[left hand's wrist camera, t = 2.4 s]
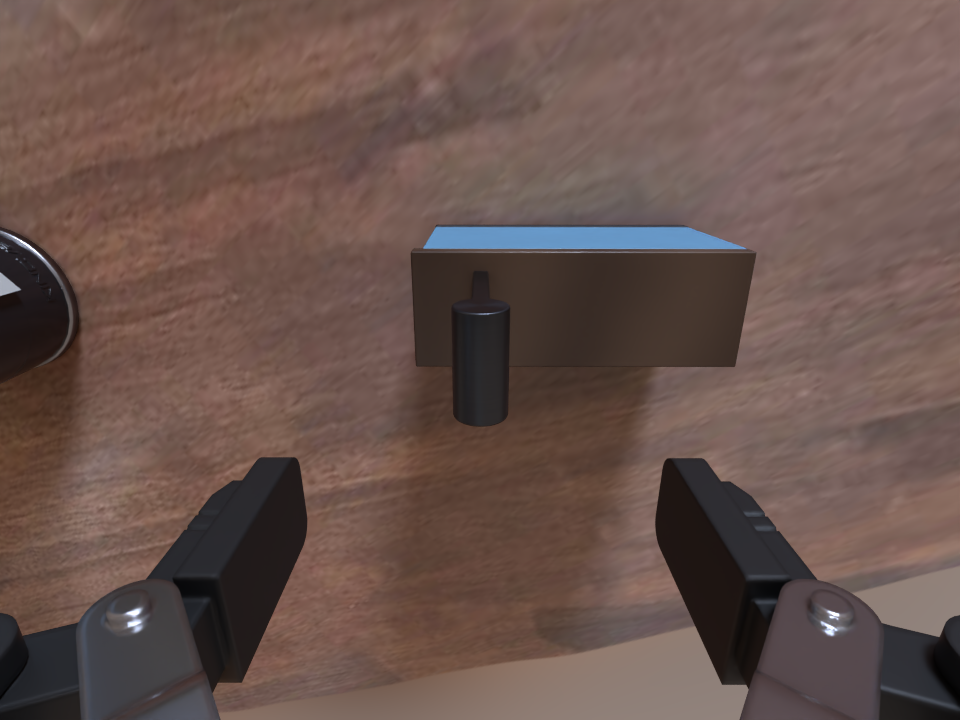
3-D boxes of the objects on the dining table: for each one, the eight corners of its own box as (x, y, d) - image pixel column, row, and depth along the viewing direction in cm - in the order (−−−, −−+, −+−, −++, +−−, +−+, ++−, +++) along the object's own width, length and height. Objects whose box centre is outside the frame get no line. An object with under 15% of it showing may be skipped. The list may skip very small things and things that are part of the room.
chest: (439, 313, 35) (426, 360, 27) (436, 224, 33) (422, 247, 25) (671, 313, 35) (727, 360, 27) (683, 225, 33) (747, 248, 25)
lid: (417, 360, 27) (391, 445, 19) (412, 248, 25) (381, 291, 17) (727, 360, 27) (828, 445, 19) (748, 248, 25) (870, 292, 17)
